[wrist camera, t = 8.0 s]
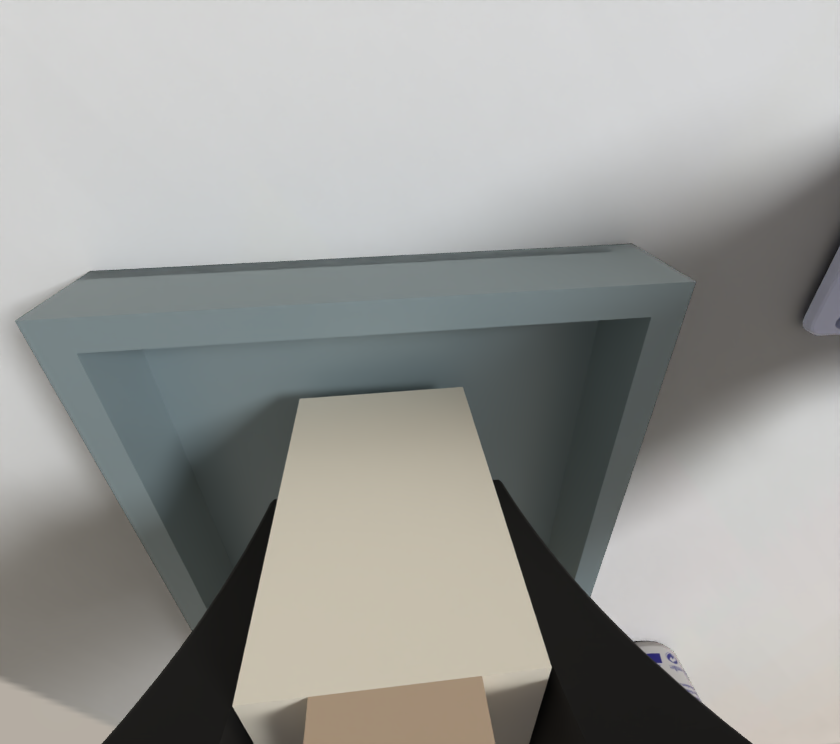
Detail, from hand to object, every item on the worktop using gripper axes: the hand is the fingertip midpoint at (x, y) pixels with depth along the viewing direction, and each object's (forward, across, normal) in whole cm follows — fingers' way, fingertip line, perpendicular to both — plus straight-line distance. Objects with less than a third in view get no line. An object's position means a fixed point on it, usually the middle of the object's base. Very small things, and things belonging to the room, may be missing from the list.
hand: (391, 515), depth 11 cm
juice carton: (+2, 0, 0) cm, 2 cm away
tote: (+4, 0, +4) cm, 6 cm away
